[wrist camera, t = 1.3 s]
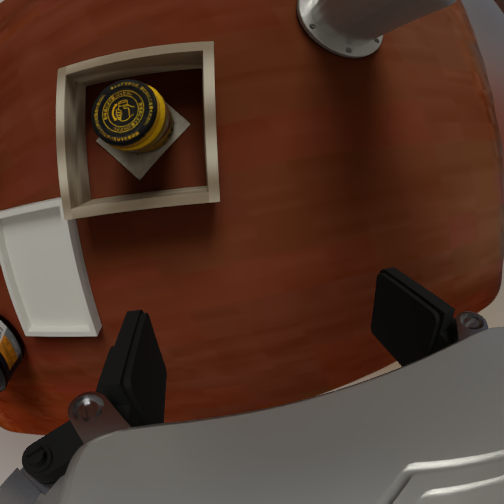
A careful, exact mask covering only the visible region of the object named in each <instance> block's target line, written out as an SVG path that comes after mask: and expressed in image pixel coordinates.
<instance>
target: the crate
mask: <svg viewBox="0 0 504 504" xmlns="http://www.w3.org/2000/svg"><path fill="white" fill-rule="evenodd" d="M200 68H202V93H203V122H204V144H205V163H206V180H207V186H200V187H189V188H179V189H169V190H160V191H152V192H144V193H136V194H128V195H121V196H114V197H107V198H101V199H94V200H91V194H90V185H89V176H88V164H87V149H86V123H85V97H86V86H90V85H94V84H98V83H102V82H107V81H112V80H116V79H121V78H127V77H132V76H138V75H145V74H151V73H159V72H167V71H176V70H187V69H200ZM56 143H57V160H58V173H59V183H60V192H61V199H62V207H63V213H64V220H71V219H77V218H83V217H90V216H97V215H104V214H111V213H119V212H126V211H134V210H142V209H151V208H160V207H169V206H178V205H189V204H199V203H210V202H220V192H219V175H218V156H217V135H216V111H215V80H214V41H210V42H192V43H180V44H170V45H162V46H154V47H147V48H141V49H135V50H130V51H124V52H120V53H115V54H110V55H106V56H102V57H98V58H94V59H90V60H86V61H83V62H79V63H76V64H72V65H69V66H66V67H63V68H60V69H58V78H57V95H56Z"/></svg>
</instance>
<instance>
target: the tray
mask: <svg viewBox="0 0 504 504" xmlns="http://www.w3.org/2000/svg"><path fill="white" fill-rule="evenodd" d="M0 264H1V267H2V271H3V275H4V278H5V281H6V284H7V288H8V291H9V294H10V297H11V299H12V302H13V305H14V308H15V311H16V313H17V316H18V318H19V321H20V323H21V326H22V328H23V331H24V333H25V335H26V336H48V337H82V336H98V334H99V331H100V329H101V327H102V325H101V321H100V318H99V315H98V312H97V308H96V305H95V302H94V298H93V295H92V291H91V287H90V283H89V279H88V275H87V271H86V267H85V263H84V258H83V254H82V249H81V244H80V239H79V233H78V228H77V222H76V219H71V220H64V213H63V207H62V199H61V197H59V198H54V199H49V200H44V201H40V202H35V203H31V204H26V205H22V206H18V207H14V208H10V209H6V210H2V211H0Z"/></svg>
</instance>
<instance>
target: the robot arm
mask: <svg viewBox="0 0 504 504" xmlns="http://www.w3.org/2000/svg"><path fill="white" fill-rule="evenodd" d="M494 1H495V2H496V3H497V5H498V6H499V8H500V9H501V10H502V12H503V13H504V0H494ZM454 2H456V0H298V1H297V7H296V9H297V15H298V18H299V21H300V23H301V25H302V27H303V28H304V30H305V31H306V32H307V34H308V35H309V36H310V37H311V38H312V39H313V40H314V41H315V42H316V43H318V44H319V45H320V46H322V47H323V48H325V49H326V50H328V51H330V52H332V53H334V54H337V55H339V56H343V57H347V58H361V57H365V56H367V55H370V54H371V53H373V52H375V51H376V50H377V49H378V48H379V46H380V45H381V42H382V38H383V35H384V34H386V33H388V32H390V31H392V30H394V29H396V28H398V27H401V26H403V25H405V24H407V23H409V22H412V21H414V20H416V19H418V18H421V17H423V16H426V15H428V14H430V13H433V12H435V11H438V10H440V9H443V8H445V7H448V6H450V5H452V4H453V3H454ZM454 311H455V309H454V308H453V307H451V306H450V305H448V304H447V303H446V302H444V301H443V300H441V299H440V298H438V297H437V296H436V295H434V294H433V293H431V292H430V291H428V290H427V289H425V288H424V287H423V286H421V285H420V284H418V283H417V282H415V281H414V280H412V279H411V278H409V277H408V276H406V275H405V274H403V273H402V272H400V271H399V270H397V269H396V268H388V269H383V270H381V271H380V274H378V276H377V282H376V291H375V300H374V307H373V315H372V322H371V331H372V333H373V335H374V336H375V337H376V338H377V339H378V340H379V341H380V342H381V344H382V345H383V346H384V347H385V348H386V349H387V350H388V351H389V352H390V353H391V355H392V356H393V357H394V358H395V359H396V360H397V361H398V362H399V364H401V366H402V367H401V368H398V369H396V370H393V371H391V372H388V373H385V374H383V375H380V376H377V377H375V378H372V379H369V380H366V381H363V382H361V383H358V384H355V385H352V386H349V387H345V388H342V389H339V390H336V391H332V392H329V393H326V394H322V395H319V396H315V397H311V398H308V399H304V400H300V401H296V402H292V403H288V404H283V405H279V406H275V407H270V408H265V409H260V410H255V411H250V412H244V413H239V414H232V415H226V416H219V417H212V418H205V419H196V420H188V421H180V422H171V423H164V407H165V391H166V377H167V373H166V367H165V364H164V361H163V358H162V355H161V352H160V349H159V346H158V343H157V340H156V337H155V334H154V331H153V327H152V324H151V321H150V317H149V315H148V313H144V312H143V311H142V310H135V311H128V312H127V313H126V316H125V319H124V321H123V324H122V327H121V329H120V332H119V335H118V338H117V340H116V343H115V346H112V347H111V348H110V350H109V353H108V356H107V359H106V362H105V365H104V367H103V370H102V373H101V376H100V379H99V383H98V386H97V389H96V392H92V391H91V392H85V393H83V394H80V395H78V396H77V397H75V398H74V399H73V400H72V401H71V403H70V405H69V407H68V417H69V419H70V420H69V421H68V422H66V423H65V424H63V425H61V426H60V427H58V428H57V429H55V430H53V431H52V432H50V433H49V434H47V435H45V436H44V437H42V438H41V439H39V440H37V441H36V442H34V443H32V444H31V445H30V446H28V447H27V448H26V450H25V451H24V453H23V456H22V464H23V468H22V469H21V470H19V469H18V468H16V469H15V471H14V472H13V473H12V474H11V475H10V476H9V477H8V478H7V479H6V480H5V481H4V483H3V484H2V485H1V486H0V504H504V327H496V328H490V329H488V325H487V322H486V320H485V319H484V318H483V317H482V316H481V315H479V314H477V313H474V312H470V311H465V312H461V313H459V314H458V315H457V316H456V319H454V318H453V314H454Z"/></svg>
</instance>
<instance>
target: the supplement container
mask: <svg viewBox="0 0 504 504" xmlns="http://www.w3.org/2000/svg"><path fill="white" fill-rule="evenodd" d="M23 356H24V348H23V344H22V341H21V339H20V336H19V335H18V333H17V331H16V330H15V328H14V327H13V326H12V325H11V323H10V322H9V321H8V320H6V319H5V318H4V317H3V316H1V315H0V392H2V391H4V390H5V388H6V387H7V383H8V382H9V380H10V378H11V377H12V375H13V373H14V372H15V370H16V368H17V367H18V365H19V364H20V363H21V361H22V359H23Z"/></svg>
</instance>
